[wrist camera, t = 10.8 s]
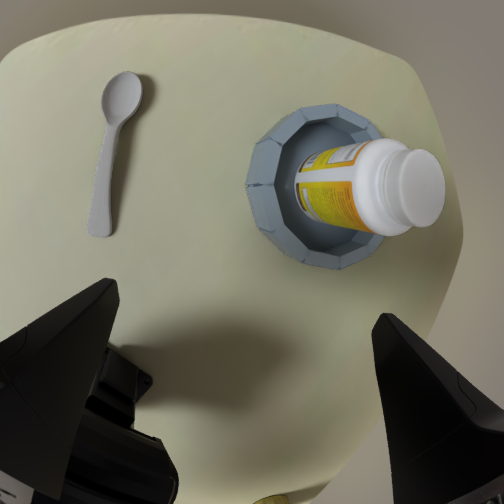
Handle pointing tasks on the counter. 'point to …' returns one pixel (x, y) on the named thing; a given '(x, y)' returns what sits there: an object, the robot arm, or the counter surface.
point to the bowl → (283, 194)
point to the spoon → (111, 146)
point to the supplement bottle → (371, 187)
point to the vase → (273, 500)
